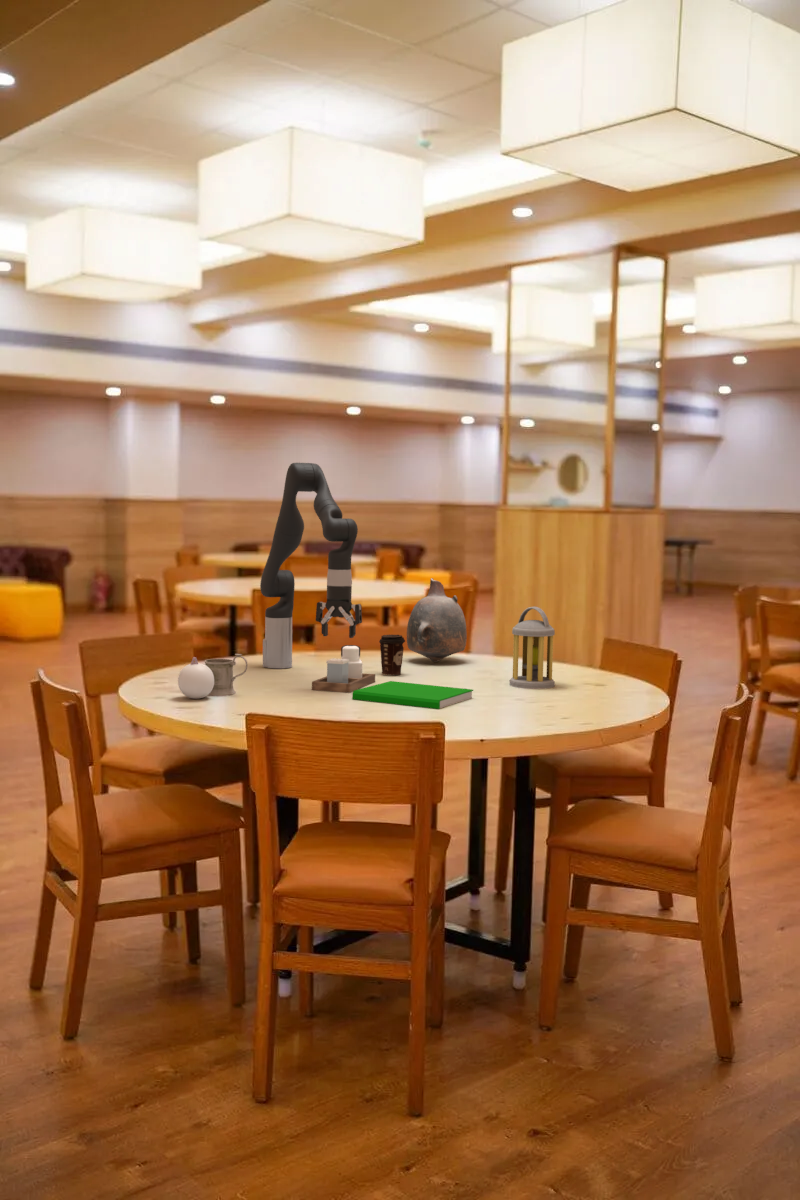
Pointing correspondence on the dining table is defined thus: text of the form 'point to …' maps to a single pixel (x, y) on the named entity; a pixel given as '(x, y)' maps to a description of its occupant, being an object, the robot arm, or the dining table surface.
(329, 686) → the brown flat rectangular frame
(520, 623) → the lantern
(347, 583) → the robot arm
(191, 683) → the ornament
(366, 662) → the dining table surface
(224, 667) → the mug
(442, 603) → the jug
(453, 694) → the book
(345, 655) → the medicine bottle
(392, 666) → the coffee cup
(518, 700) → the dining table surface
